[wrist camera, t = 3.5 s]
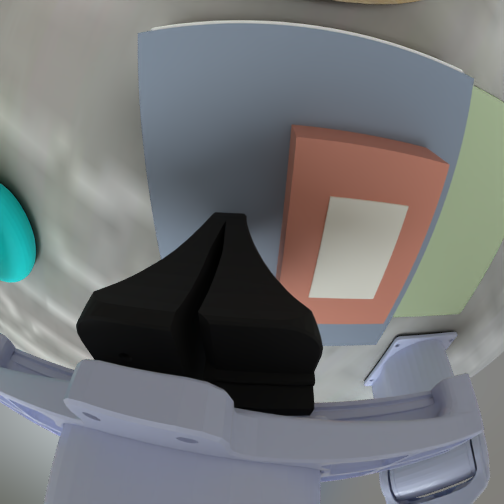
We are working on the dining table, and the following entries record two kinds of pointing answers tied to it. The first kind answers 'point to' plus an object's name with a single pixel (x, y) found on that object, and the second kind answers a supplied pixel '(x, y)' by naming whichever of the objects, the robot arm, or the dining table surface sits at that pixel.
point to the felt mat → (464, 219)
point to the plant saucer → (378, 1)
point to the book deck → (279, 121)
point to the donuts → (14, 239)
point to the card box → (354, 221)
